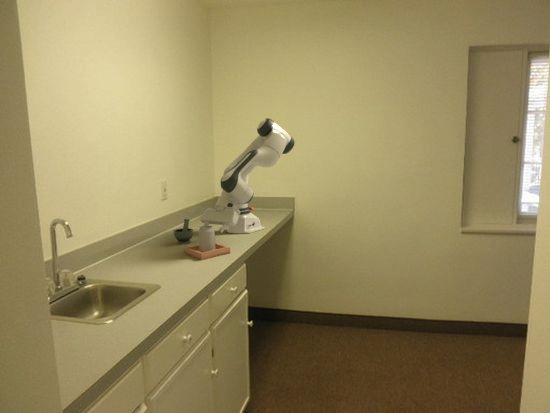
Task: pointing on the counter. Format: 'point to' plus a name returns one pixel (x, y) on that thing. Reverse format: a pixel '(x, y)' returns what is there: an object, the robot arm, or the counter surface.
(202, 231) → the can
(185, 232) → the mortar and pestle
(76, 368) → the counter surface
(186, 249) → the dish
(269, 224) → the counter surface
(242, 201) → the robot arm
